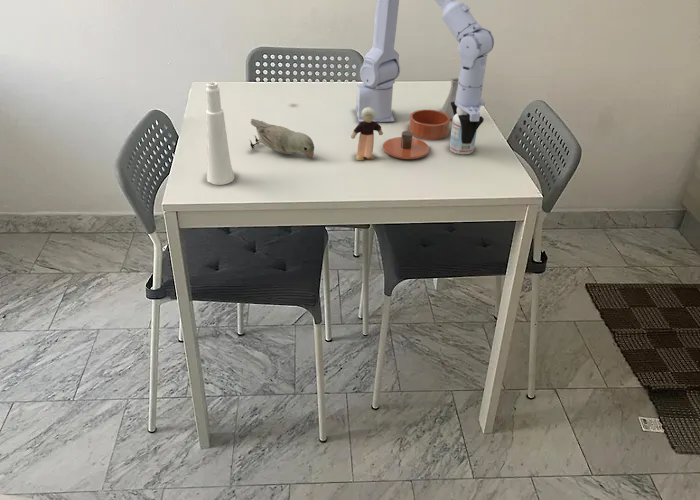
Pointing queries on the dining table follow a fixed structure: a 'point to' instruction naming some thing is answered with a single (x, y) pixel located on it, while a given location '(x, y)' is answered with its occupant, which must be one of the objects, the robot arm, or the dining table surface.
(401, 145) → the lid
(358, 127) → the grandmother figurine
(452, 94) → the flask
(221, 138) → the cosmetic bottle
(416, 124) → the bowl
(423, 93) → the dining table surface
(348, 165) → the dining table surface
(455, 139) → the pill bottle
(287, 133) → the decorative bird
